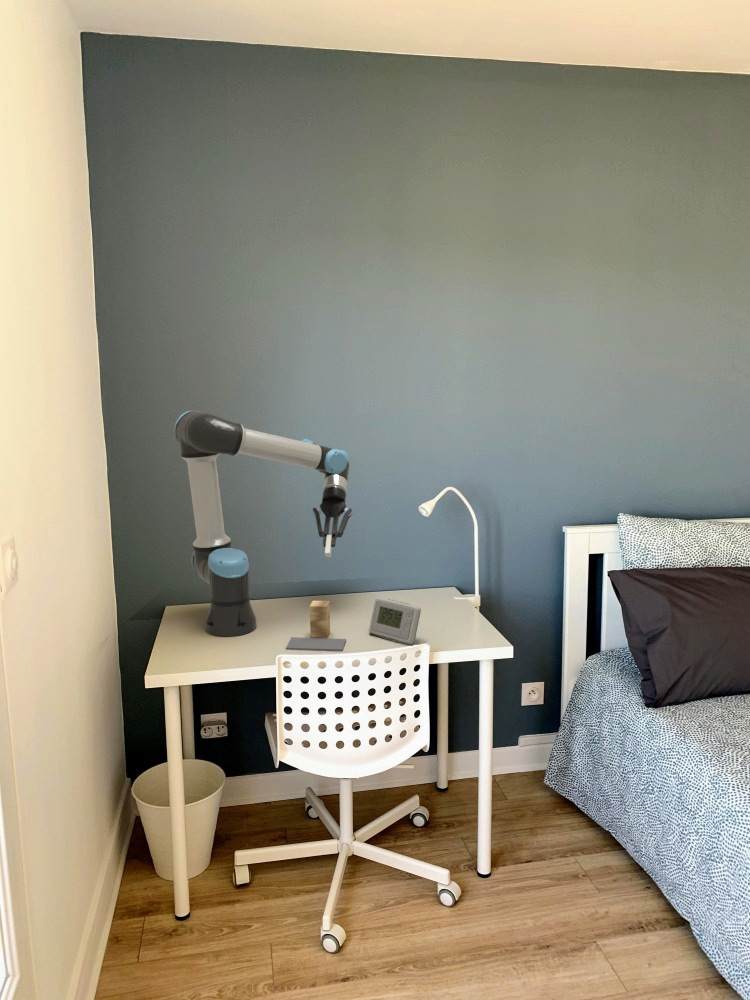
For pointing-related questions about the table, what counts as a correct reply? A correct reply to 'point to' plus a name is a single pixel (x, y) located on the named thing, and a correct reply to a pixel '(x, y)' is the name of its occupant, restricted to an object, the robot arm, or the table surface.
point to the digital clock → (394, 620)
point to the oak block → (320, 619)
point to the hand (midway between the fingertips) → (327, 555)
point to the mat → (316, 644)
